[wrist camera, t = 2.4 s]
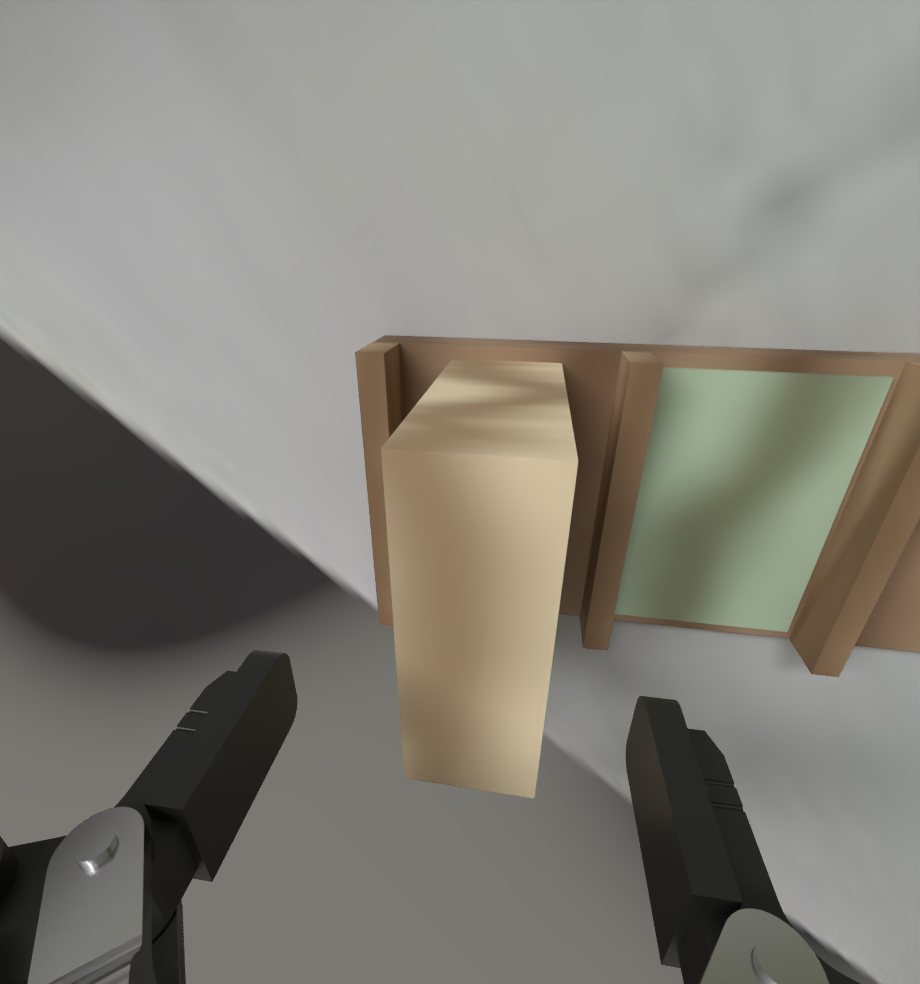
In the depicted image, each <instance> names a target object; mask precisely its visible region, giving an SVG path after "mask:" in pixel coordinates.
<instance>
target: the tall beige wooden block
mask: <svg viewBox="0 0 920 984" xmlns="http://www.w3.org/2000/svg"><path fill="white" fill-rule="evenodd" d="M381 455H382V469H383V483H384V497H385V511H386V525H387V539H388V553H389V567H390V581H391V595H392V609H393V623H394V637H395V651H396V665H397V680H398V693H399V707H400V721H401V736H402V749H403V764H404V777H405V778H407V779H413V780H420V781H427V782H432V783H439V784H445V785H451V786H458V787H464V788H471V789H477V790H484V791H490V792H496V793H502V794H509V795H515V796H522V797H528V798H534V797H535V790H536V782H537V775H538V767H539V759H540V752H541V743H542V736H543V729H544V721H545V713H546V706H547V698H548V690H549V683H550V675H551V667H552V660H553V652H554V644H555V637H556V629H557V621H558V614H559V606H560V598H561V591H562V583H563V575H564V568H565V560H566V552H567V545H568V537H569V529H570V522H571V514H572V506H573V499H574V491H575V483H576V476H577V468H578V456H577V450H576V444H575V438H574V432H573V426H572V420H571V414H570V408H569V402H568V396H567V390H566V385H565V379H564V373H563V367H562V363H545V362H520V361H495V360H470V359H452V360H451V361H450V362H449V364H448V365H447V366H446V367H445V369H444V370H443V371H442V372H441V374H440V375H439V376H438V377H437V379H436V380H435V381H434V383H433V384H432V385H431V386H430V388H429V389H428V390H427V391H426V393H425V394H424V395H423V396H422V398H421V399H420V400H419V401H418V403H417V404H416V405H415V406H414V408H413V409H412V410H411V411H410V413H409V414H408V415H407V416H406V418H405V419H404V420H403V421H402V423H401V424H400V425H399V426H398V428H397V429H396V430H395V431H394V433H393V434H392V435H391V436H390V438H389V439H388V440H387V441H386V443H385V444H384V445H383V446H382V448H381Z"/></svg>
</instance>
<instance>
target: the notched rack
mask: <svg viewBox="0 0 920 984" xmlns="http://www.w3.org/2000/svg"><path fill="white" fill-rule="evenodd" d="M355 356H356V367H357V379H358V390H359V401H360V412H361V424H362V435H363V446H364V457H365V469H366V480H367V491H368V502H369V514H370V525H371V536H372V547H373V559H374V570H375V581H376V593H377V604H378V615H379V624H383V625H391V626H394V623H393V609H392V595H391V581H390V567H389V553H388V539H387V525H386V511H385V497H384V483H383V469H382V455H381V448H382V446H383V445H384V444H385V443H386V441H387V440H388V439H389V438H390V436H391V435H392V434H393V433H394V431H395V430H396V429H397V428H398V426H399V425H400V424H401V423H402V421H403V420H404V419H405V418H406V416H407V415H408V414H409V413H410V411H411V410H412V409H413V408H414V406H415V405H416V404H417V403H418V401H419V400H420V399H421V398H422V396H423V395H424V394H425V393H426V391H427V390H428V389H429V388H430V386H431V385H432V384H433V383H434V381H435V380H436V379H437V377H438V376H439V375H440V374H441V372H442V371H443V370H444V369H445V367H446V366H447V365H448V364H449V362H450V361H451V360H452V359H470V360H495V361H520V362H545V363H562V367H563V373H564V379H565V385H566V390H567V396H568V402H569V408H570V414H571V420H572V426H573V432H574V438H575V444H576V450H577V456H578V468H577V476H576V483H575V491H574V499H573V506H572V514H571V522H570V529H569V537H568V545H567V552H566V560H565V568H564V575H563V583H562V591H561V598H560V606H559V614H566V615H575V616H580V622H581V632H582V642H583V648H591V649H599V650H607V649H608V644H609V639H610V634H611V628H612V623H613V620H622V621H631V622H641V623H650V624H660V625H669V626H678V627H688V628H697V629H706V630H716V631H725V632H734V633H744V634H753V635H763V636H772V637H781V638H789V639H790V641H791V642H792V644H793V645H794V647H795V649H796V650H797V652H798V653H799V655H800V657H801V658H802V660H803V661H804V663H805V665H806V666H807V668H808V669H809V671H810V672H811V674H817V675H825V676H834V677H839V675H840V673H841V671H842V669H843V667H844V665H845V663H846V661H847V659H848V657H849V655H850V653H851V652H852V650H853V648H854V646H855V645H856V646H866V647H875V648H884V649H894V650H903V651H912V652H920V354H907V353H878V352H849V351H820V350H791V349H762V348H733V347H704V346H675V345H646V344H617V343H588V342H559V341H530V340H501V339H472V338H443V337H414V336H383V337H381V338H380V339H378V340H376V341H374V342H373V343H371V344H369V345H367V346H366V347H364V348H362V349H360V350H359V351H357V352H355Z"/></svg>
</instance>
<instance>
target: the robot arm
mask: <svg viewBox="0 0 920 984" xmlns="http://www.w3.org/2000/svg"><path fill="white" fill-rule="evenodd" d="M296 710H297V693H296V689H295V683H294V679H293V674H292V669H291V664H290V659H289V656H288V655H287V654H285V653H278V652H270V651H261V650H255V651H252V652H251V653H250V654H249V655H248V656H247V658H246V659H245V661H244V662H243V663H242V665H241V667H240V668H239V669H238V671H237V672H233V671H226V672H225V673H224V674H222V676H220V677H219V678H217V679H216V680H215V681H213V682H212V683H211V684H210V685H208V686H207V687H206V688H205V689H204V690H203V692H202V693H201V694H200V696H199V697H198V699H197V700H196V701H195V703H194V704H193V705H192V706H191V708H190V712H189V713H186V715H185V716H184V717H183V718H182V720H181V721H180V723H179V724H178V725H177V729H176V730H173V732H172V733H171V734H170V736H169V737H168V738H167V740H166V741H165V743H164V744H163V745H162V746H161V748H160V749H159V750H158V752H157V753H156V754H155V756H154V757H153V758H152V760H151V761H150V762H149V764H148V765H147V766H146V768H145V769H144V770H143V772H142V773H141V775H140V776H139V777H138V778H137V780H136V781H135V782H134V784H133V785H132V787H131V788H130V789H129V790H128V792H127V793H126V795H125V796H124V797H123V798H122V799H121V800H120V802H119V803H118V804H117V805H116V806H115V807H114V808H110V809H107V810H104V811H101V812H99V813H97V814H95V815H93V816H91V817H89V818H88V819H86V820H85V821H83V822H82V823H81V824H79V825H78V826H77V827H75V828H74V829H73V830H72V831H71V832H70V833H69V834H68V835H66V836H62V837H58V838H53V839H48V840H43V841H38V842H33V843H27V844H22V845H17V846H12V847H8V846H7V845H6V843H5V842H4V841H3V839H2V838H1V837H0V984H186V974H185V951H184V927H183V905H182V897H183V895H184V893H185V891H186V889H187V887H188V886H189V884H190V882H191V880H192V878H194V879H199V880H205V881H210V882H212V881H213V879H214V877H215V875H216V874H217V871H218V869H219V867H220V866H221V864H222V861H223V860H224V858H225V856H226V854H227V852H228V850H229V847H230V846H231V844H232V842H233V840H234V838H235V836H236V834H237V832H238V830H239V828H240V826H241V824H242V822H243V820H244V818H245V817H246V814H247V812H248V811H249V809H250V807H251V805H252V803H253V801H254V799H255V797H256V795H257V793H258V791H259V789H260V787H261V785H262V783H263V781H264V779H265V777H266V775H267V773H268V771H269V769H270V767H271V765H272V764H273V762H274V760H275V757H276V756H277V754H278V751H279V750H280V748H281V746H282V744H283V742H284V740H285V738H286V736H287V734H288V732H289V730H290V728H291V726H292V724H293V721H294V718H295V715H296ZM626 767H627V774H628V780H629V786H630V791H631V797H632V803H633V808H634V814H635V819H636V825H637V830H638V836H639V842H640V848H641V853H642V859H643V864H644V870H645V876H646V881H647V887H648V893H649V898H650V904H651V909H652V915H653V921H654V926H655V932H656V937H657V943H658V949H659V954H660V960H661V964H662V965H667V966H673V967H678V968H681V972H682V976H683V981H684V984H860V983H858V982H856V981H854V980H852V979H850V978H848V977H847V976H845V975H843V974H841V973H840V972H838V971H836V970H835V969H833V968H832V967H831V966H829V965H828V964H826V963H825V962H824V961H823V960H822V959H820V958H819V957H818V956H817V955H816V954H815V953H814V952H813V951H812V949H811V948H810V947H809V945H808V944H807V943H806V941H805V940H804V939H803V938H802V937H801V936H800V935H799V934H798V933H797V932H796V931H795V930H794V929H793V927H792V926H791V925H790V923H789V922H788V920H787V918H786V916H785V914H784V913H783V911H782V908H781V906H780V904H779V901H778V899H777V896H776V893H775V891H774V888H773V885H772V883H771V880H770V877H769V875H768V872H767V869H766V867H765V864H764V861H763V859H762V856H761V853H760V851H759V848H758V845H757V843H756V840H755V837H754V835H753V832H752V829H751V827H750V824H749V821H748V819H747V816H746V813H745V812H743V808H742V807H743V805H742V803H741V800H740V797H739V795H738V792H737V789H736V788H734V781H733V779H732V776H731V773H730V771H729V768H728V765H727V763H726V760H725V757H724V755H723V754H722V753H721V751H720V750H719V749H718V747H717V746H716V745H715V744H714V742H713V741H712V740H711V738H710V737H709V736H708V735H707V733H706V732H705V731H702V730H694V729H687V726H686V723H685V720H684V716H683V713H682V710H681V707H680V705H679V703H678V702H677V701H676V700H670V699H662V698H653V697H645V696H639V698H638V700H637V703H636V707H635V711H634V715H633V719H632V723H631V727H630V731H629V735H628V739H627V744H626Z"/></svg>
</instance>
